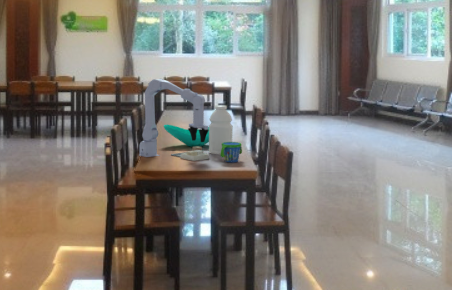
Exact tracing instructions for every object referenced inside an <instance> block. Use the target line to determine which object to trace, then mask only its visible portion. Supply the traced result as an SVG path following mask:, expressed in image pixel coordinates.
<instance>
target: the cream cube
mask: <svg viewBox="0 0 452 290" xmlns="http://www.w3.org/2000/svg"><path fill="white" fill-rule="evenodd" d="M186 152H187V155H191V156H197V152H195V151H192V150H190V151H186Z"/></svg>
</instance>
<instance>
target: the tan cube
mask: <svg viewBox="0 0 452 290" xmlns="http://www.w3.org/2000/svg"><path fill="white" fill-rule="evenodd" d="M195 150H201V151H203V146H200V147H199V146H196V147H191V151H195Z"/></svg>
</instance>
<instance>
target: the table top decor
mask: <svg viewBox="0 0 452 290" xmlns="http://www.w3.org/2000/svg"><path fill="white" fill-rule="evenodd" d="M163 128H164V130H165V131H166V132H167V133H169V134H170V135H171V136H172V137H174V138H175V139H177V140H178V141H180V142H181V143H183V144H184V145H186V146H187V147H191V148H192V147H196V146H199V147H203V146H206V145H207V144H209V131H208V133H207V135H206V138H205V142H201V140H200V133H199V130H200V128H198V130H197V134H196V140H195V141H192V138H191V134H190V132H189V130H188V128H187V129H185V128H183V127H180V126H176V125H173V124H164V125H163ZM208 130H209V126H208Z"/></svg>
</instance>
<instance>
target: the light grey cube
mask: <svg viewBox="0 0 452 290" xmlns="http://www.w3.org/2000/svg"><path fill="white" fill-rule="evenodd" d="M195 152H197V156H198V155H203V153H204V150H202V151H201V150H195Z"/></svg>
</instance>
